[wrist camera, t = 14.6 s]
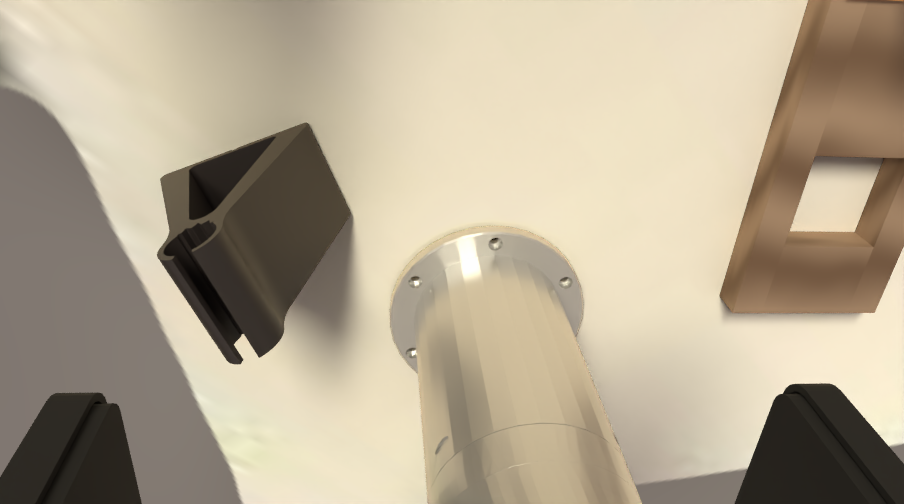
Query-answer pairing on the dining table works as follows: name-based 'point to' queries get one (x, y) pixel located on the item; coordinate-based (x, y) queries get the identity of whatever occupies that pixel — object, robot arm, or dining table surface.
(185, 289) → the phone stand
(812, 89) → the board
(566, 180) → the dining table surface
